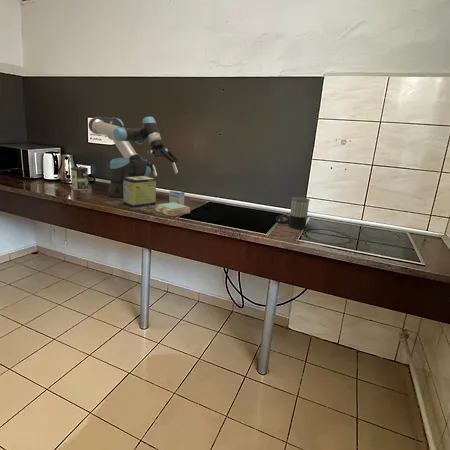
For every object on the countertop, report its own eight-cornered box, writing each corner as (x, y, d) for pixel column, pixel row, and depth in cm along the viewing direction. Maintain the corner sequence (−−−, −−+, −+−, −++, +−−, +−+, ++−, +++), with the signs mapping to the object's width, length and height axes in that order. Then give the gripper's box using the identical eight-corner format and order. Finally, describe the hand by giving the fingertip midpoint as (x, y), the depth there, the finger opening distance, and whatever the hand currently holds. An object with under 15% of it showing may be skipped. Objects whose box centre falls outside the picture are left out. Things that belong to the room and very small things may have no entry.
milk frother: (306, 230, 166) (310, 201, 162) (274, 226, 168) (278, 198, 164) (305, 223, 179) (309, 196, 175) (275, 219, 182) (279, 193, 178)
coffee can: (91, 188, 227) (90, 167, 223) (84, 191, 217) (83, 169, 213) (76, 187, 227) (75, 166, 223) (69, 189, 217) (67, 168, 213)
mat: (157, 205, 180) (157, 204, 180) (173, 203, 188) (173, 202, 188) (171, 210, 173) (171, 209, 173) (187, 207, 181) (187, 206, 181)
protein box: (156, 204, 195) (156, 178, 191) (133, 207, 184) (133, 180, 180) (145, 201, 202) (145, 175, 198) (122, 204, 191) (122, 177, 186)
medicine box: (168, 205, 196) (169, 191, 193) (173, 204, 199) (173, 190, 197) (179, 207, 192) (180, 193, 190) (184, 206, 196) (184, 192, 194)
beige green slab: (155, 210, 181) (155, 205, 180) (173, 207, 191) (173, 202, 190) (171, 216, 172) (171, 210, 172) (190, 213, 182) (190, 207, 181)
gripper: (137, 140, 190) (148, 175, 188) (176, 137, 204) (187, 169, 202) (134, 146, 196) (145, 179, 194) (171, 142, 210) (182, 173, 208)
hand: (166, 174), depth 198 cm, fingers open, 13 cm apart
